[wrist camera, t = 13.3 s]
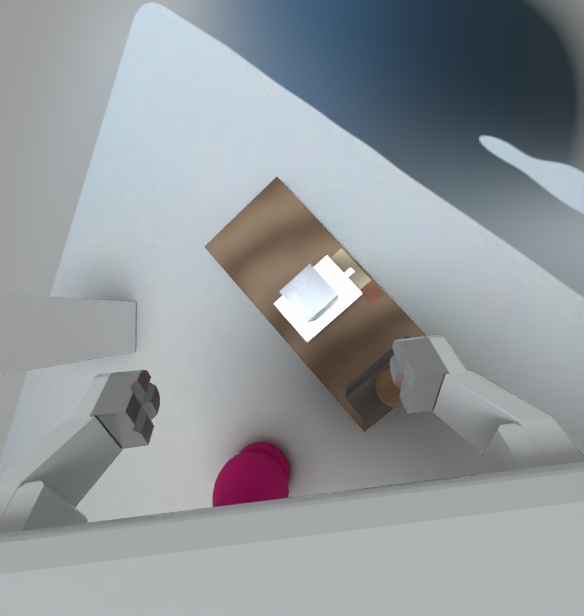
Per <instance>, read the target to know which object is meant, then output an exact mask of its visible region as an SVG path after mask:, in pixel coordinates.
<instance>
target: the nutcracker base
mask: <svg viewBox="0 0 584 616" xmlns="http://www.w3.org/2000/svg"><path fill="white" fill-rule="evenodd" d="M205 248H206V249H207V250H208V251H209V253H210V254H211V255H212V256H213V257H214V258H215V260H216V261H217V262H218V263H219V264H220V265H221V266H222V268H223V269H224V270H225V271H226V272H227V273H228V275H229V276H230V277H231V278H232V279H233V280H234V281H235V283H236V284H237V285H238V286H239V287H240V288H241V290H242V291H243V292H244V293H245V294H246V295H247V296H248V298H249V299H250V300H251V301H252V302H253V303H254V305H255V306H256V307H257V308H258V309H259V310H260V311H261V313H262V314H263V315H264V316H265V317H266V318H267V320H268V321H269V322H270V323H271V324H272V325H273V327H274V328H275V329H276V330H277V331H278V332H279V333H280V335H281V336H282V337H283V338H284V339H285V340H286V342H287V343H288V344H289V345H290V346H291V347H292V348H293V350H294V351H295V352H296V353H297V354H298V355H299V357H300V358H301V359H302V360H303V361H304V362H305V363H306V365H307V366H308V367H309V368H310V369H311V370H312V372H313V373H314V374H315V375H316V376H317V377H318V378H319V380H320V381H321V382H322V383H323V384H324V385H325V387H326V388H327V389H328V390H329V391H330V392H331V393H332V395H333V396H334V397H335V398H336V399H337V400H338V402H339V403H340V404H341V405H342V406H343V407H344V409H345V410H346V411H347V412H348V413H349V414H350V415H351V417H352V418H353V419H354V420H355V421H356V422H357V424H358V425H359V426H360V427H361V428H362V429H363V430H364V432H365V431H366V430H367V429H368V428H370V427H371V426H372V425H373V424H374V423H376V422H377V421H378V420H379V419H380V418H382V417H383V416H384V415H385V414H387V413H388V412H389V411H390V410H391V409H393V408H394V407H395V408H399V407H404V406H403V403H402V401H401V399H400V391H401V389H400V388H398V387H397V386H395V384H394V382H393V379H392V376H391V370H390V360H391V357H392V356H393V355H394V351H393V349H392V346H393V342H394V341H395V340H398V339H406V338H414V337H421V336H424V337H425V336H426V335H425V334H424V333H423V332H422V331H421V330H420V329H419V327H418V326H417V325H416V324H415V323H414V322H413V321H412V320H411V319H410V318H409V317H408V316H407V315H406V314H405V313H404V311H403V310H402V309H401V308H400V307H399V306H398V305H397V304H396V303H395V302H394V301H393V300H392V299H391V298H390V297H389V296H388V294H387V293H386V292H385V291H384V290H383V289H382V288H381V287H380V286H379V285H378V284H377V283H376V282H375V281H374V280H373V278H372V277H371V276H370V275H369V274H368V273H367V272H366V271H365V270H364V269H363V268H362V267H361V266H360V265H359V264H358V262H357V261H356V260H355V259H354V258H353V257H352V256H351V255H350V254H349V253H348V252H347V251H346V250H345V249H344V248H343V246H342V245H341V244H340V243H339V242H338V241H337V240H336V239H335V238H334V237H333V236H332V235H331V234H330V233H329V232H328V230H327V229H326V228H325V227H324V226H323V225H322V224H321V223H320V222H319V221H318V220H317V219H316V218H315V217H314V216H313V214H312V213H311V212H310V211H309V210H308V209H307V208H306V207H305V206H304V205H303V204H302V203H301V202H300V201H299V200H298V198H297V197H296V196H295V195H294V194H293V193H292V192H291V191H290V190H289V189H288V188H287V187H286V186H285V185H284V184H283V182H282V181H281V180H280V179H279V178H278V177H276V178H275V179H274V180H273V181H272V182H271V183H270V184H269V185H268V186H267V187H266V188H265V189H264V190H263V191H262V192H261V193H260V194H258V195H257V196H256V197H255V198H254V199H253V200H252V201H251V202H250V203H249V204H248V205H247V206H246V207H245V208H244V209H243V210H242V211H241V212H240V213H239V214H238V215H237V216H236V217H235V218H234V219H233V220H232V221H231V222H230V223H229V224H227V225H226V226H225V227H224V228H223V229H222V230H221V231H220V232H219V233H218V234H217V235H216V236H215V237H214V238H213V239H212V240H211V241H210V242H209V243H208V244H207V245H206V246H205ZM326 255H328V257H329V258H330V259H331V260H332V261H333V262H334V263H335V264H336V265H337V266H338V267H339V268H340V270H341V271H342V272H343V273H345V272H346V271H347V270H348V269H349V268H350V267H351V268H352V269H353V270H354V271H355V272H354V273H353V274H352V275H351V276H350V277H348V278H349V279H350V280H351V281H352V282H353V284H354V285H355V286H356V287H357V288H358V289H359V290H360V291H361V292H362V293H363V294H362V295H361V296H360V297H358V298H357V299H356V300H355V301H354V302H353V303H352V304H351V305H349V306H348V307H347V308H346V309H345V310H344V311H343V312H342V313H340V314H339V315H338V316H337V317H336V318H335V319H334V320H332V321H331V322H330V323H329V324H328V325H327V326H326V327H325V328H323V329H322V330H321V331H320V332H319V333H318V334H317V335H316V336H314V337H313V338H312V339H311V340H310V341H309V342H307V341H306V340H305V339H304V338H303V337H302V336H301V335H300V333H299V332H298V331H297V330H296V329H295V328H294V327H293V325H292V324H291V323H290V322H289V321H288V320H287V319H286V317H285V316H284V315H283V314H282V313H281V312H280V311H279V309H278V308H277V307H276V306H275V305H274V303H275V302H276V301H277V300H278V299H279V298H280V297H282V294H281V293H280V292H279V291H281V290H282V289H283V288H284V287H285V286H286V285H287V284H288V283H289V282H290V281H291V280H292V279H294V278H295V277H296V276H297V275H298V274H299V273H300V272H301V271H302V270H303V269H304V268H306V267H307V266H308V265H309V264H311V265H312V266H313V267H314V266H315V265H316V264H318V263H319V262H320V261H321V260H322V259H323V258H324V257H325V256H326Z"/></svg>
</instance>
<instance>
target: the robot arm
mask: <svg viewBox="0 0 584 616" xmlns="http://www.w3.org/2000/svg"><path fill="white" fill-rule="evenodd" d="M392 349H393V351H394V355H393V356H392V357H391V360H390V370H391V376H392V379H393V382H394V384H395V386H397V387H398V388H400V389H401V391H400V399H401V401H402V403H403V406H404V408H405V410H406V413H407V414H409V413H420V412H430V411H433V413H434V414H435V415H437V416H438V417H439V418H440V419H441V420H442V421H443V422H445V423H446V424H447V425H448V426H449V427H450V428H452V429H453V430H454V431H455V432H456V433H457V434H458V435H460V436H461V437H462V438H463V439H464V440H465V441H467V442H468V443H469V444H470V445H471V446H472V447H473V448H475V449H476V450H477V451H478V452H479V453H480V454H482V455H483V456H482V458H481V460H480V461H479V463H478V465H477V467H476V469H475V471H474V474H475V475H470V476H462V477H454V478H446V479H438V480H430V481H422V482H414V483H405V484H397V485H389V486H381V487H373V488H365V489H357V490H348V491H340V492H332V493H324V494H316V495H308V496H300V497H291V498H283V499H275V500H267V501H259V502H251V503H243V504H235V505H227V506H219V507H211V508H202V509H194V510H186V511H178V512H170V513H162V514H154V515H146V516H138V517H130V518H122V519H114V520H106V521H97V522H89V523H87V521H88V519H87V517H86V516H85V515H84V514H83V513H81V512H80V511H79V510H78V509H76V508H75V507H76V506H77V505H78V503H79V502H80V501H81V500H82V499H83V497H84V496H85V495H86V494H87V492H88V491H89V490H90V489H91V488H92V486H93V485H94V484H95V483H96V482H97V480H98V479H99V478H100V477H101V475H102V474H103V473H104V472H105V471H106V469H107V468H108V467H109V466H110V464H111V463H112V462H113V461H114V460H115V458H116V457H117V456H118V455H119V454H120V452H121V451H122V449H125V448H131V447H138V446H145V445H149V441H150V438H151V435H152V431H153V428H154V425H153V423H152V421H151V420H152V419H153V418H154V417H155V416H156V415H157V414H158V410H159V406H160V396H159V392H158V389H157V387H156V386H155V385H153V384H152V383H150V382H149V381H150V378H151V376H150V375H149V373H148V371H147V370H138V371H128V372H117V373H109V374H99V375H97V376H95V377H94V378H93V380H92V382H91V384H90V386H89V387H88V389H87V391H86V393H85V395H84V397H83V399H82V401H81V403H80V405H79V407H78V409H77V410H76V412H75V414H74V416H73V418H72V419H68V420H66V421H65V422H64V423H62V424H61V425H60V426H59V427H58V428H56V429H55V430H54V431H53V432H52V433H50V434H49V435H48V436H47V437H46V438H44V439H43V440H42V441H41V442H39V443H38V444H37V445H36V446H35V447H33V448H32V449H31V450H30V451H29V452H27V453H26V454H25V455H24V456H23V457H21V458H20V459H19V460H18V461H17V462H15V463H14V464H13V465H12V466H10V467H9V468H8V469H7V470H6V471H4V472H3V473H2V474H1V475H0V616H584V455H583V454H582V453H581V451H580V450H579V449H578V448H577V446H576V445H575V444H574V443H573V441H572V440H571V439H570V438H569V437H568V435H567V434H566V433H565V432H564V430H563V429H562V428H561V427H560V426H559V424H558V423H557V422H556V421H555V419H554V418H553V417H551V416H549V415H548V414H546V413H544V412H543V411H541V410H539V409H537V408H536V407H534V406H532V405H530V404H529V403H527V402H525V401H523V400H522V399H520V398H518V397H516V396H515V395H513V394H511V393H510V392H508V391H506V390H504V389H503V388H501V387H499V386H497V385H496V384H494V383H492V382H490V381H489V380H487V379H485V378H483V377H482V376H480V375H478V374H477V373H475V372H473V371H467V370H466V368H465V367H464V365H463V364H462V363H461V361H460V360H459V358H458V357H457V355H456V354H455V352H454V351H453V349H452V348H451V346H450V345H449V343H448V342H447V340H446V339H445V337H444V336H443V335H441V334H438V335H430V336H425V337H424V336H421V337H414V338H406V339H398V340H395V341H394V342H393V346H392Z"/></svg>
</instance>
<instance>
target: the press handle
mask: <svg viewBox="0 0 584 616" xmlns="http://www.w3.org/2000/svg"><path fill="white" fill-rule="evenodd" d="M354 272H355V271H354V270H353V269H352V268H351V267H350V268H349V269H348V270H347V271H346V272H345V273H343V272H342V271H341V270H340V268H339V267H338V266H337V265H336V264H335V263H334V262H333V261H332V260H331V259H330V258H329V257H328V255H326V256H325V257H324V258H323V259H322V260H321V261H320V262H319V263H318V264H316V265H315V266H314V267H313V266H312V265H311V264H309V265H308V266H307V267H306V268H304V269H303V270H302V271H301V272H300V273H299V274H298V275H297V276H296V277H295V278H294V279H292V280H291V281H290V282H289V283H288V284H287V285H286V286H285V287H284V288H283V289H282V290H281V291H279V292H280V293H281V294H282V297H280V298H279V299H278V300H277V301H276V302H275V303H274V305H275V306H276V307H277V308H278V309H279V311H280V312H281V313H282V314H283V315H284V316H285V317H286V319H287V320H288V321H289V322H290V323H291V324H292V325H293V327H294V328H295V329H296V330H297V331H298V332H299V333H300V335H301V336H302V337H303V338H304V339H305V340H306V341H307V342H309V341H310V340H311V339H312V338H313V337H314V336H316V335H317V334H318V333H319V332H320V331H321V330H322V329H323V328H325V327H326V326H327V325H328V324H329V323H330V322H331V321H332V320H334V319H335V318H336V317H337V316H338V315H339V314H340V313H342V312H343V311H344V310H345V309H346V308H347V307H348V306H349V305H351V304H352V303H353V302H354V301H355V300H356V299H357V298H358V297H360V296H361V295H362V294H363V293H362V292H361V291H360V290H359V289H358V288H357V287H356V286H355V285H354V284H353V282H352V281H351V280H350V279H349V278H348V277H350V276H351V275H352V274H353V273H354Z"/></svg>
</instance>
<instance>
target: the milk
mask: <svg viewBox="0 0 584 616" xmlns="http://www.w3.org/2000/svg"><path fill="white" fill-rule="evenodd" d="M135 347H136V302H127V301H111V300H95V299H79V298H63V297H47V296H31V295H15V294H0V375H5V374H11V373H17V372H22V371H28V370H34V369H40V368H45V367H51V366H57V365H62V364H68V363H74V362H79V361H85V360H91V359H96V358H102V357H108V356H114V355H119V354H125V353H131V352H135Z"/></svg>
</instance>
